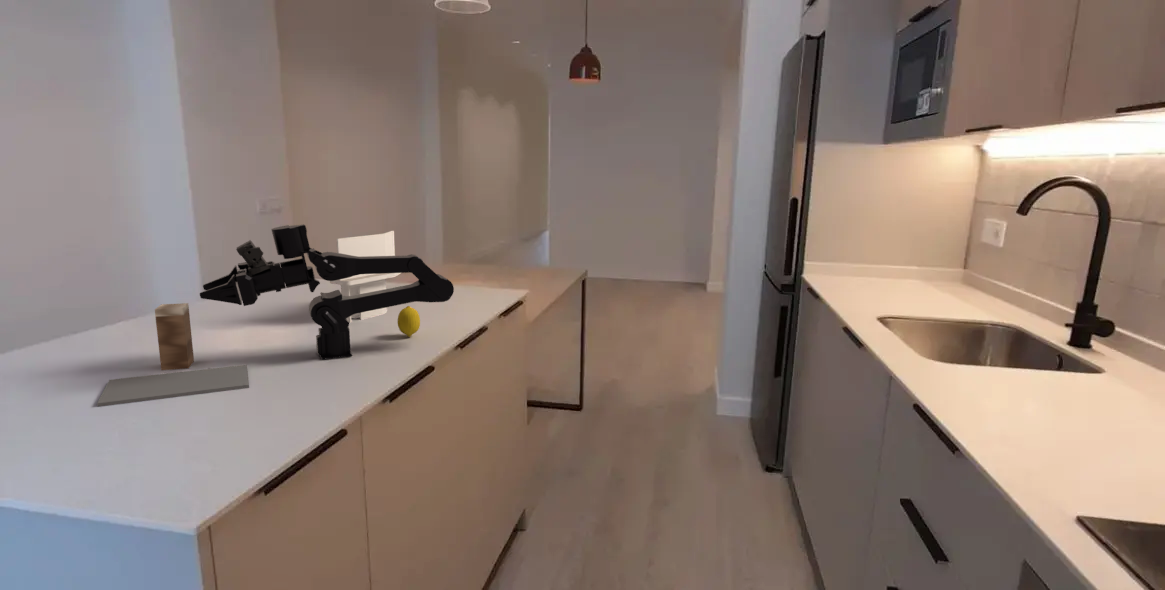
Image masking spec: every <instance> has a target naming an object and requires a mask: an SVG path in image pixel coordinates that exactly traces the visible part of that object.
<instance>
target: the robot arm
mask: <svg viewBox="0 0 1165 590" xmlns="http://www.w3.org/2000/svg"><path fill="white" fill-rule="evenodd" d="M306 226H307V225H306V224H294V225H288V224H286V225H282V226H281V225H280V226H277V227H274V228H271V233H272V237H273V242H274V245H275V249H276V253H277V256H283V257H282V258H283V259H284V260H286V261H281V262H275V261H272V260H269V261H266V259H265V257H264V256H263V255H264V251H263V250H262V249H261V247H260V246H256V245H255V244H254V243H253V241H252V240H251V239H249V240H248V241H245V242H244V243H243V244H240V245H239V246H237V247H236V249H235V250H236V253H238V255H239V256H241V257H242V259H244V262H240V263H237V265H234V266H233V268H232V270H231V271H230V272H229V273H228V274H226V275H224V276H221V277H219V278H217V279H214V280H212V281H209V282H207V283H205V284H203V285H202V287H203V290H204V291H201V292H199V297H200V299H201V300H202V299H204V300H209V301H217V302H224V303H229V304H235V305H238V306H242V305H243V307H245V306H250V305H254V304H255V303H256V302H257V300H258V297H260V296H261V294H265V293H269V292H276V293H279V292H282V290H284V289H291V288H294V287H299V286H304V285H308V289H309V291H310V293H315V290H316V288H317V287H318V286H319V285H320V284H321V282H320V280H318V279H316V277H315V272H314V270H316V272H317V274H318V276H319V277H320V278H321V279H322V280H324V281H328V282H330V281H335V280H340V279H345V278H349V277H352V276H355V275H360V274H382V273H401V274H406V273H407V274H408V273H409V274H410V273H411V274H412V275H413V276H415V278H416V279H418V280H416V281H414V282H412V283H409V284H406V285H405V284H404V285H401V286H395V287H390V288H386V289H384V290H379V291H374V292H369V293H363V294H358V295H353V296H342V294H341V290H340V289H336V290H333V291H329V292H320V295H317V296H315V297H313V298H312V300H311V301H310V303H309V305H308V312H309V314H310V315H309V316H310V318H311V320H312V321H313V322H314V323H315V324H316V325H318V326H320V327H318V334H317V335H316V336H315V339H316V340H315V341H316V353H317V355H318V356H320V358H321V360H329V359H330V360H331V359H340V358H348V357H352V356H353V353H352V351H351V339H350V337H351V335H350V327H349V326H350V323H349V322H348V320H347V318H348V317H350V316H352V315H354V314H356V313H361V312H366V311H371V310H376V309H381V308H386V307H387V308H391V307H395V306H400V305H406V304H410V303H414V302H418V303H444V302H447V301H449V300H450V299H451V298H452V297H453V295H454V291H455V287H454V284H453V283H452V281H450V280H449V279H448V278H446V277H444V276H443V275H441V274H439V273H436V272H434V270H432V269H431V268H430V267H429V266H428V265H427V264H426V263H425V262H424V261H423V259H422V258H421V257H419V256H418V255H416V254H408V255H395V256H366V257H357V256H351V255H346V254H341V253H337V252H333V251H326V252H320V251H319V250H316V249H315V248H312V247H311V246H310V244H309V243H310V242H309V238H308V230H307V227H306ZM305 254H306V255H307V258H308V260H309V262H310V263H311V264H312V265H314V268H315V269H313V266H307V261H306V258H305V257H306V256H305ZM299 257H301V258H299ZM289 259H290V260H289ZM291 259H292V260H291ZM237 266H238V267H237Z"/></svg>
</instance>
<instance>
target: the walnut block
mask: <svg viewBox="0 0 1165 590" xmlns="http://www.w3.org/2000/svg"><path fill="white" fill-rule="evenodd" d="M189 306H190V305H189V302H187V303H163V304H160V305H158V306H157V307H156V308H155V309H154V315H155V324H156V333H157V342H158V351H159V352H158V353H159V360H160V361H159V362H160V370H161V371H171V370H183V369H184V370H186V369H190V367H191V366H192V365H193V363H194V362H195V358H194V355H195V354H194V348H193V338H192V337H193V336H192V328H191V318H190V316H191V315H190V307H189Z"/></svg>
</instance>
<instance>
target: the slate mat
mask: <svg viewBox="0 0 1165 590" xmlns="http://www.w3.org/2000/svg"><path fill="white" fill-rule="evenodd" d="M249 381H250V380H249V370H248V364H240V365H231V366H220V367H212V368H205V369H204V368H202V369H195V370H185V371H177V372H176V371H175V372H168V373H158V374H150V375H140V376H132V377H122V378H115V379H109V380H108V382H107V384H106V386H105V388H104V390H103V391H102V394H101V395H100V397H99V399H98V401H97V402H96V405H97V407H105V406H112V405H113V406H114V405H121V404H130V403H137V402H145V401H152V400H160V399H161V400H162V399H167V398H176V397H186V396H192V395H193V396H194V395H200V394H201V395H203V394H209V393H216V392H224V391H231V390H239V389H240V390H241V389H248V388H250V382H249Z"/></svg>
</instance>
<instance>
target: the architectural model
mask: <svg viewBox="0 0 1165 590" xmlns="http://www.w3.org/2000/svg"><path fill="white" fill-rule="evenodd" d="M395 249H396V247H395V230H390V231H387V232H384V233H376V234H369V235H359V236H351V237H350V236H349V237H340V238H336V253H341V254H346V255H351V256H357V257H366V256H396V250H395ZM400 274H402V273H382V274H360V275H355V276H352V277H349V278H345V279H340V280H335V281H329V283H330V284H334V285H338V286H339V285H340V292H341V294H342V296H353V295H358V294H363V293H369V292H374V291H379V290H384V289H387V279H391V278H395V277H397V276H399V275H400ZM387 312H388V307H386V308H381V309H376V310H371V311H366V312H361V313H356V314H354V315H352V316H350V317H348V318H347V320H348V322H349V324H350V323H352V319H359V320H360V321H363V320H367V319H371V318H374V317H378V316H382V315H385V314H386V313H387Z"/></svg>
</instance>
